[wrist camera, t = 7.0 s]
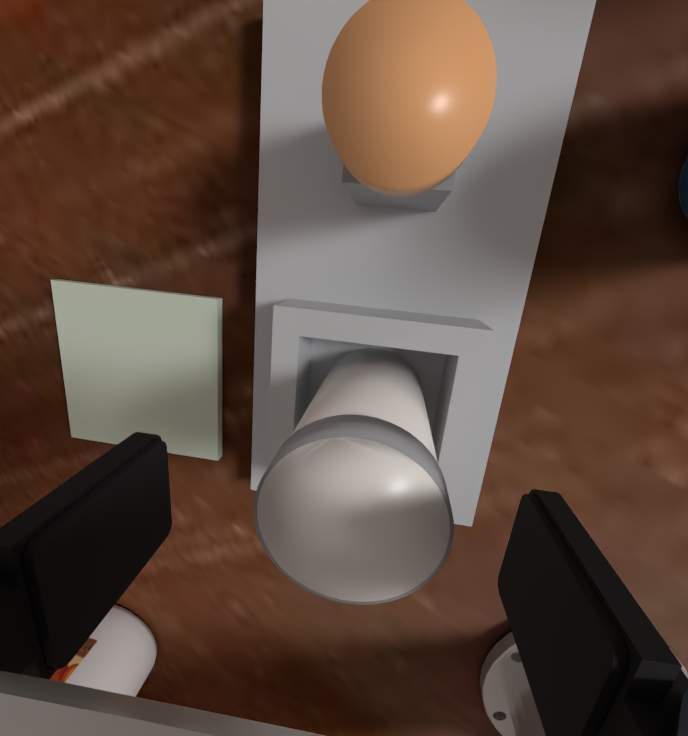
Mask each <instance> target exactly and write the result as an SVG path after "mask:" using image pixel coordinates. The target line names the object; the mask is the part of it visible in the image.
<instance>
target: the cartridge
mask: <svg viewBox="0 0 688 736" xmlns="http://www.w3.org/2000/svg"><path fill="white" fill-rule="evenodd" d="M254 521H255V527H256V531H257V534H258V537H259V540H260V542H261V544H262V546H263V548H264V550H265V552H266V553H267V555H268V556H269V558H270V559H271V561H272V562H273V563H274V564H275V565H276V566H277V568H278V569H279V570H280V571H281V572H282V573H283V574H285V575H286V576H287V577H288V578H289V579H291V580H292V581H293V582H294V583H296V584H297V585H299V586H301V587H302V588H304V589H306V590H307V591H309V592H312V593H314V594H316V595H318V596H321V597H324V598H326V599H329V600H333V601H337V602H342V603H349V604H363V605H367V604H379V603H385V602H390V601H393V600H397V599H400V598H402V597H405V596H407V595H409V594H412V593H413V592H415V591H417V590H418V589H420V588H422V587H423V586H424V585H425V584H427V583H428V582H429V581H430V580H431V579H432V578H433V577H434V576H435V575H436V574H437V573H438V572H439V570H440V569H441V567H442V566H443V565H444V563H445V561H446V559H447V557H448V555H449V552H450V549H451V546H452V542H453V535H454V519H453V514H452V508H451V504H450V500H449V495H448V491H447V487H446V482H445V479H444V476H443V473H442V471H441V469H440V467H439V465H438V462H437V457H436V453H435V448H434V444H433V439H432V434H431V430H430V425H429V420H428V416H427V411H426V406H425V402H424V397H423V392H422V388H421V383H420V380H419V378H418V376H417V374H416V372H415V371H414V369H413V368H412V366H411V365H410V364H409V363H408V362H407V361H406V360H404V359H403V358H402V357H400V356H399V355H397V354H395V353H393V352H391V351H388V350H385V349H380V348H364V349H359V350H355V351H353V352H350V353H348V354H346V355H345V356H343V357H342V358H340V359H339V360H338V361H337V362H336V363H335V364H334V365H333V367H332V368H331V370H330V371H329V373H328V375H327V376H326V378H325V380H324V381H323V383H322V385H321V386H320V388H319V390H318V391H317V393H316V395H315V396H314V398H313V400H312V401H311V403H310V405H309V406H308V408H307V410H306V411H305V413H304V415H303V416H302V418H301V420H300V421H299V423H298V425H297V427H296V428H295V430H294V432H293V433H292V435H291V436H290V437H289V438H288V439H287V440H286V441H285V442H284V444H283V445H282V446H281V447H280V449H279V450H278V452H277V454H276V455H275V457H274V458H273V460H272V462H271V463H270V465H269V467H268V468H267V470H266V471H265V473H264V475H263V476H262V478H261V480H260V483H259V485H258V487H257V491H256V495H255V500H254Z"/></svg>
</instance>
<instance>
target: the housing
mask: <svg viewBox="0 0 688 736" xmlns="http://www.w3.org/2000/svg"><path fill="white" fill-rule="evenodd" d="M368 1H370V0H263V38H262V77H261V115H260V154H259V192H258V231H257V270H256V308H255V347H254V386H253V424H252V463H251V490H257V487H258V485H259V483H260V480H261V478H262V476H263V475H264V473H265V471H266V470H267V468H268V467H269V465H270V463H271V462H272V460H273V458H274V457H275V455H276V454H277V452H278V450H279V449H280V447H281V446H282V445H283V444H284V442H285V441H286V440H287V439H288V438H289V437H290V436H291V435H292V433H293V432H294V430H295V428H296V427H297V425H298V423H299V421H300V420H301V418H302V416H303V415H304V413H305V411H306V410H307V408H308V406H309V405H310V403H311V401H312V400H313V398H314V396H315V395H316V393H317V391H318V390H319V388H320V386H321V385H322V383H323V381H324V380H325V378H326V376H327V375H328V373H329V371H330V370H331V368H332V367H333V365H334V364H335V363H336V362H337V361H338V360H339V359H340V358H342V357H343V356H345V355H346V354H348V353H350V352H353V351H355V350H359V349H364V348H380V349H385V350H388V351H391V352H393V353H395V354H397V355H399V356H400V357H402V358H403V359H404V360H406V361H407V362H408V363H409V364H410V365H411V366H412V368H413V369H414V371H415V372H416V374H417V376H418V378H419V380H420V383H421V388H422V392H423V397H424V402H425V406H426V411H427V416H428V420H429V425H430V430H431V434H432V439H433V444H434V448H435V453H436V457H437V462H438V465H439V467H440V469H441V471H442V473H443V476H444V479H445V482H446V487H447V491H448V495H449V500H450V504H451V508H452V514H453V519H454V524H459V525H465V526H471V527H472V523H473V519H474V515H475V511H476V506H477V502H478V498H479V494H480V489H481V485H482V481H483V477H484V473H485V468H486V464H487V460H488V456H489V451H490V447H491V443H492V439H493V434H494V430H495V426H496V422H497V418H498V413H499V409H500V405H501V401H502V396H503V392H504V388H505V384H506V380H507V375H508V371H509V367H510V363H511V358H512V354H513V350H514V346H515V342H516V337H517V333H518V329H519V325H520V320H521V316H522V312H523V308H524V303H525V299H526V295H527V291H528V287H529V282H530V278H531V274H532V270H533V265H534V261H535V257H536V253H537V249H538V244H539V240H540V236H541V232H542V227H543V223H544V219H545V215H546V211H547V206H548V202H549V198H550V194H551V189H552V185H553V181H554V177H555V172H556V168H557V164H558V160H559V156H560V151H561V147H562V143H563V139H564V134H565V130H566V126H567V122H568V118H569V113H570V109H571V105H572V101H573V96H574V92H575V88H576V84H577V80H578V75H579V71H580V67H581V63H582V58H583V54H584V50H585V46H586V41H587V37H588V33H589V29H590V25H591V20H592V16H593V12H594V8H595V3H596V0H463V1H465V2H466V3H467V4H468V5H469V6H470V7H471V8H472V9H473V10H474V11H475V13H476V14H477V15H478V17H479V18H480V19H481V21H482V23H483V24H484V26H485V28H486V30H487V32H488V35H489V37H490V40H491V42H492V46H493V50H494V54H495V60H496V69H497V84H496V92H495V99H494V103H493V107H492V111H491V114H490V116H489V119H488V122H487V124H486V126H485V128H484V130H483V132H482V134H481V136H480V138H479V139H478V141H477V142H476V144H475V146H474V147H473V149H472V150H471V151H470V153H469V154H468V156H467V157H466V159H465V160H464V162H463V163H462V164H461V165H460V167H459V168H458V169H457V170H456V171H455V172H454V173H453V174H452V175H451V176H450V177H449V178H448V179H447V180H445V181H444V182H443V183H441V184H440V185H438V186H437V187H435V188H433V189H431V190H429V191H427V192H424V193H422V194H418V195H414V196H408V197H392V196H386V195H382V194H379V193H376V192H374V191H372V190H370V189H368V188H366V187H365V186H363V185H362V184H361V183H359V182H358V181H357V180H356V179H355V178H354V177H353V176H352V175H351V174H350V173H349V171H348V170H347V169H346V167H345V166H344V164H343V162H342V161H341V159H340V157H339V155H338V153H337V151H336V149H335V147H334V145H333V143H332V141H331V139H330V137H329V134H328V131H327V128H326V125H325V121H324V116H323V110H322V82H323V74H324V70H325V66H326V62H327V59H328V56H329V53H330V50H331V48H332V46H333V44H334V42H335V40H336V38H337V36H338V34H339V33H340V31H341V30H342V28H343V27H344V25H345V24H346V23H347V21H348V20H349V19H350V18H351V17H352V15H353V14H354V13H355V12H356V11H358V10H359V9H360V8H361V7H362V6H363V5H364V4H366V3H367V2H368Z"/></svg>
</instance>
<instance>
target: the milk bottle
mask: <svg viewBox="0 0 688 736" xmlns="http://www.w3.org/2000/svg"><path fill="white" fill-rule="evenodd" d="M156 653H157V645H156V641H155V638H154V636H153V634H152V632H151V630H150V629H149V628H148V626H147V625H146V624H145V623H144V622H143V621H142V620H141V619H140V618H139V617H138V616H136V615H135V614H133V613H132V612H131V611H129V610H127V609H125V608H123V607H120V606H117V605H114V606H113V607H112V608H111V610H110V611H109V612H108V614H107V615H106V616H105V618H104V619H103V620H102V621H101V623H100V624H99V625H98V627H97V628H96V629H95V630H94V632H93V633H92V634H91V636H90V637H89V638H88V639H87V641H86V642H85V643H84V645H83V646H82V647H81V648H80V650H79V651H78V652H77V654H76V655H75V656H74V658H73V659H72V660H71V661H70V662H69V663H68V664H67V665H66V666H65V667H64V668H61V669H57V671H56V672H55V673H54V674H53V676H52V677H51V678H50V679H49V680H54V681H59V682H64V683H69V684H74V685H79V686H84V687H89V688H94V689H99V690H104V691H109V692H114V693H119V694H124V695H129V696H134V697H136V695H137V693H138V692H139V690H140V688H141V687H142V685H143V683H144V682H145V680H146V678H147V676H148V675H149V673H150V671H151V669H152V667H153V666H154V663H155V659H156Z"/></svg>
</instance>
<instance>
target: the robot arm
mask: <svg viewBox="0 0 688 736" xmlns="http://www.w3.org/2000/svg"><path fill="white" fill-rule="evenodd" d="M171 525H172V518H171V503H170V488H169V472H168V457H167V445H166V443H165V442H164V441H162V439H161V437H160V436H159V435H156V434H149V433H142V432H135V433H133V434H132V435H130V436H129V437H127V438H126V439H125V440H123V441H122V442H120V443H119V444H118V445H116V446H115V447H113V448H112V449H111V450H109V451H108V452H106V453H105V454H104V455H102V456H101V457H99V458H98V459H97V460H95V461H94V462H92V463H91V464H90V465H88V466H87V467H85V468H84V469H83V470H81V471H80V472H78V473H77V474H76V475H74V476H73V477H71V478H70V479H69V480H67V481H66V482H64V483H63V484H62V485H60V486H59V487H57V488H56V489H54V490H53V491H52V492H50V493H49V494H47V495H46V496H45V497H43V498H42V499H40V500H39V501H38V502H36V503H35V504H33V505H32V506H31V507H29V508H28V509H26V510H25V511H24V512H22V513H21V514H19V515H18V516H17V517H15V518H14V519H12V520H11V521H10V522H8V523H7V524H5V525H4V526H3V527H1V528H0V736H325V735H320V734H315V733H311V732H306V731H301V730H296V729H291V728H286V727H282V726H277V725H272V724H267V723H262V722H257V721H253V720H248V719H243V718H238V717H233V716H228V715H223V714H218V713H214V712H209V711H204V710H199V709H194V708H189V707H184V706H179V705H174V704H169V703H164V702H159V701H154V700H149V699H144V698H139V697H134V696H129V695H124V694H119V693H114V692H109V691H104V690H99V689H94V688H89V687H84V686H79V685H74V684H69V683H64V682H59V681H54V680H49V679H50V678H51V677H52V676H53V674H54V673H55V672H56V671H57V669H61V668H64V667H65V666H66V665H67V664H68V663H69V662H70V661H71V660H72V659H73V658H74V656H75V655H76V654H77V652H78V651H79V650H80V648H81V647H82V646H83V645H84V643H85V642H86V641H87V639H88V638H89V637H90V636H91V634H92V633H93V632H94V630H95V629H96V628H97V627H98V625H99V624H100V623H101V621H102V620H103V619H104V618H105V616H106V615H107V614H108V612H109V611H110V610H111V608H112V607H113V606H114V605H115V603H116V602H117V601H118V599H119V598H120V597H121V596H122V594H123V593H124V592H125V590H126V589H127V588H128V587H129V585H130V584H131V583H132V581H133V580H134V579H135V578H136V576H137V575H138V574H139V572H140V571H141V570H142V569H143V567H144V566H145V565H146V563H147V562H148V561H149V559H150V558H151V557H152V556H153V554H154V553H155V552H156V550H157V549H158V548H159V547H160V545H161V544H162V543H163V541H164V540H165V539H166V537H167V536H168V534H169V532H170V529H171ZM498 589H499V594H500V597H501V600H502V603H503V606H504V609H505V612H506V615H507V618H508V621H509V624H510V627H511V630H512V632H510V633H508V634H507V635H506V636H505V637H504V638H502V639H501V640H500V641H499V642H498V643H497V644H496V645H495V646H494V647H493V648H492V650H491V651H490V652H489V654H488V655H487V657H486V659H485V661H484V664H483V666H482V669H481V676H480V687H481V694H482V699H483V703H484V707H485V711H486V714H487V715H488V717H489V719H490V721H491V723H492V725H493V726H494V727H495V728H496V729H497V730H498V732H499V733H500V734H501V735H502V736H688V673H687V671H686V669H685V667H684V666H683V665H682V663H681V662H680V661H679V659H678V658H677V657H676V655H675V654H674V653H673V651H672V650H671V649H670V648H669V647H668V645H667V644H666V643H665V641H664V640H663V638H662V637H661V636H660V634H659V633H658V631H657V630H656V629H655V627H654V626H653V624H652V623H651V622H650V620H649V619H648V617H647V616H646V615H645V613H644V612H643V610H642V609H641V607H640V606H639V605H638V603H637V602H636V600H635V599H634V598H633V596H632V595H631V593H630V592H629V591H628V589H627V588H626V586H625V585H624V584H623V582H622V581H621V579H620V578H619V576H618V575H617V574H616V572H615V571H614V569H613V568H612V567H611V565H610V564H609V562H608V561H607V560H606V558H605V557H604V555H603V554H602V553H601V551H600V550H599V548H598V547H597V545H596V544H595V543H594V541H593V540H592V538H591V537H590V536H589V534H588V533H587V531H586V530H585V529H584V527H583V526H582V524H581V523H580V522H579V520H578V519H577V517H576V516H575V514H574V513H573V512H572V510H571V509H570V507H569V506H568V505H567V503H566V502H565V500H564V499H563V498H562V496H561V495H560V494H559V493H556V492H549V491H542V490H536V489H533V490H531V491H530V493H529V494H524V495H523V496H522V498H521V501H520V504H519V508H518V511H517V515H516V518H515V521H514V525H513V528H512V532H511V535H510V539H509V542H508V546H507V549H506V552H505V556H504V559H503V563H502V566H501V570H500V573H499V577H498Z"/></svg>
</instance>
